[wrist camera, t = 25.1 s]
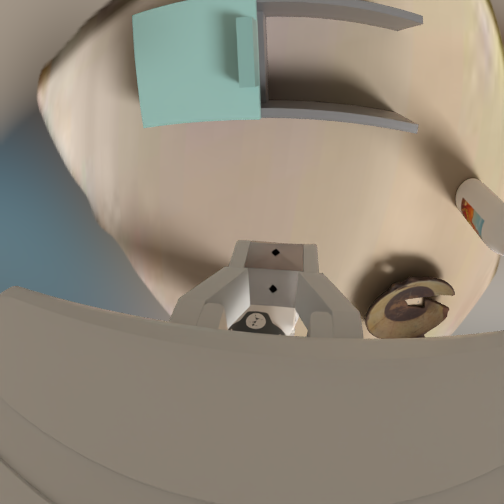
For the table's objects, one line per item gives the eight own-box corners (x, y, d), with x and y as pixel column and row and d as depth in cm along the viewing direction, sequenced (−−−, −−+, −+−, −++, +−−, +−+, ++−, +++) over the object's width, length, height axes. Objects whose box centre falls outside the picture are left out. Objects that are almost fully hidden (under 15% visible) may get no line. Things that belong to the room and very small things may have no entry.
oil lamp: (457, 254, 47) (471, 278, 41) (430, 335, 64) (436, 357, 58) (365, 265, 53) (371, 292, 47) (359, 346, 70) (361, 369, 64)
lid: (261, 118, 29) (256, 124, 26) (147, 126, 32) (131, 134, 28) (256, -7, 20) (250, -16, 16) (136, 16, 22) (118, 13, 18)
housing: (393, 119, 34) (417, 133, 27) (172, 112, 39) (144, 126, 32) (397, 24, 24) (422, 16, 17) (164, 23, 29) (133, 17, 22)
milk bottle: (458, 175, 37) (519, 240, 21) (487, 178, 35) (547, 240, 20) (450, 212, 42) (499, 285, 26) (479, 213, 40) (528, 281, 24)
